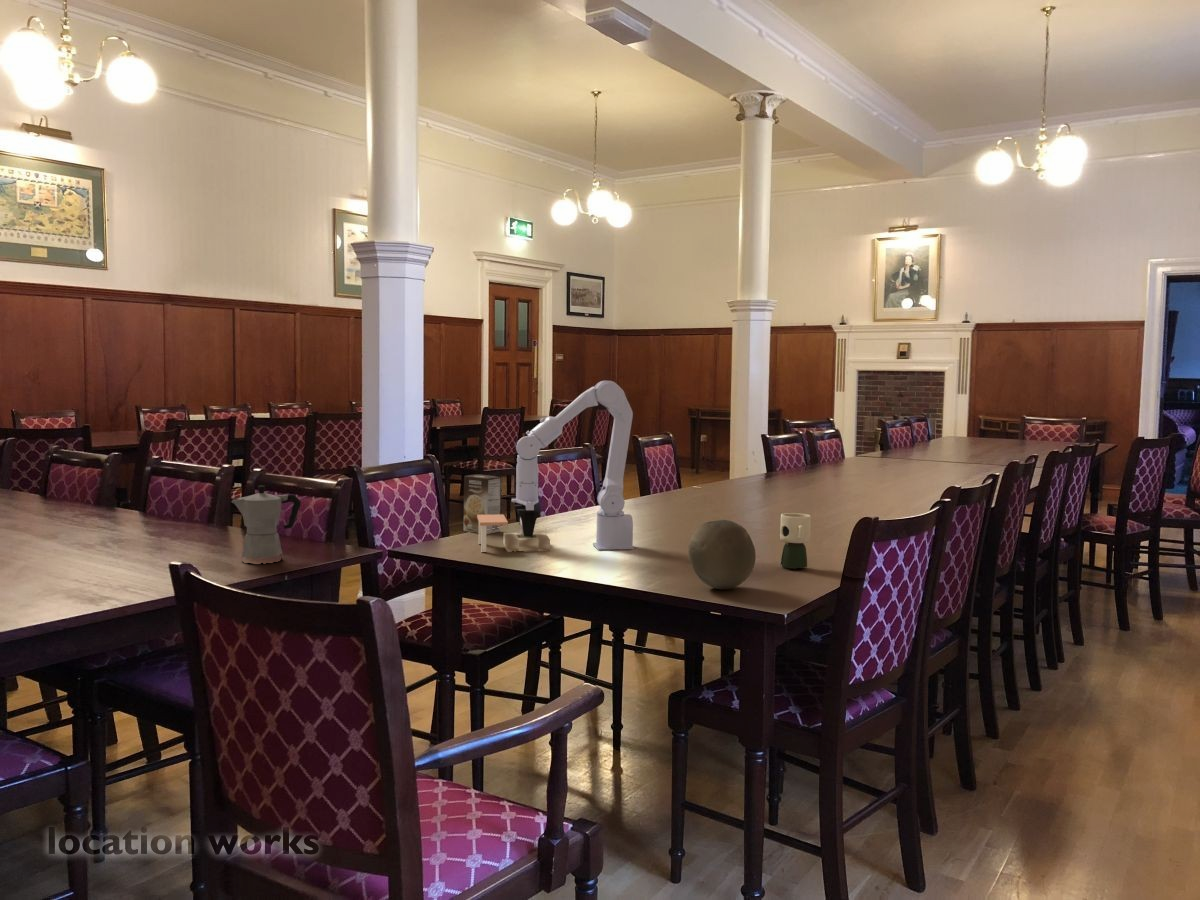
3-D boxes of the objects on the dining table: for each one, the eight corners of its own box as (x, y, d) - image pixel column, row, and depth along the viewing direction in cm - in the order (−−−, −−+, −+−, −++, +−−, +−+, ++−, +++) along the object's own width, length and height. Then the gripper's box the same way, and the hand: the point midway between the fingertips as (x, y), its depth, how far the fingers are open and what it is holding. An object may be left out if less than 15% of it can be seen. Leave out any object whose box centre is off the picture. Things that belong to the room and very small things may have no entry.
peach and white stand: (503, 543, 244) (503, 514, 244) (507, 552, 232) (507, 522, 231) (476, 543, 243) (477, 514, 242) (479, 553, 230) (480, 522, 230)
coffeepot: (233, 566, 209) (232, 488, 207) (231, 558, 217) (230, 484, 216) (303, 562, 215) (303, 486, 214) (298, 554, 224) (298, 481, 222)
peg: (532, 546, 241) (532, 516, 241) (534, 548, 238) (534, 518, 237) (518, 546, 240) (519, 516, 240) (520, 548, 237) (521, 518, 236)
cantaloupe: (694, 580, 204) (696, 514, 203) (758, 585, 200) (760, 518, 199) (681, 594, 190) (683, 523, 189) (749, 600, 186) (752, 527, 185)
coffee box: (462, 531, 262) (462, 475, 261) (476, 528, 268) (477, 473, 267) (486, 534, 258) (487, 478, 256) (501, 531, 263) (501, 476, 262)
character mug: (773, 563, 224) (775, 511, 223) (802, 564, 225) (804, 511, 224) (785, 573, 213) (787, 518, 212) (815, 573, 214) (817, 518, 213)
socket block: (544, 543, 246) (544, 532, 245) (549, 551, 235) (550, 539, 235) (503, 543, 243) (503, 532, 243) (507, 551, 233) (507, 540, 232)
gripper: (509, 479, 244) (508, 529, 245) (514, 485, 230) (514, 538, 231) (535, 479, 245) (534, 529, 247) (542, 485, 231) (541, 538, 232)
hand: (526, 533), depth 239 cm, fingers open, 7 cm apart
